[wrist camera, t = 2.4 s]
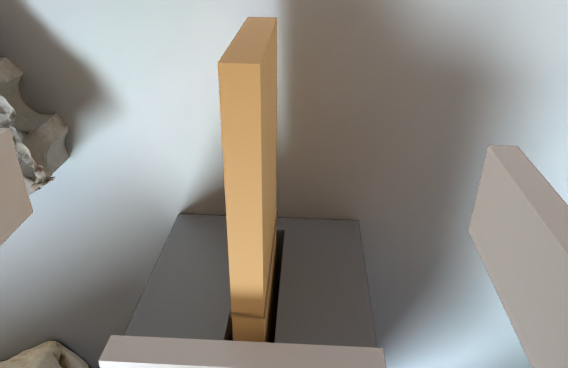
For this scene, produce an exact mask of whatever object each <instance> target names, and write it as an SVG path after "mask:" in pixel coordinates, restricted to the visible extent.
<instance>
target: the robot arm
mask: <svg viewBox="0 0 568 368" xmlns="http://www.w3.org/2000/svg"><path fill="white" fill-rule="evenodd" d="M32 213H33V210H32V206H31V203H30V199H29V195H28V192H27V188H26V185H25V181H24V178H23V174H22V171H21V167H20V164H19V160H18V157H17V153H16V150H15V146H14V142H13V139H12V135H11V132H10V128H0V246H1V245H2V244H3V243H4V242H5V241H6V240H7V239H8V238H9V236H10V235H11V234H12V233H13V232H14V231H15V230H16V229H17V228H18V227H19V226H20V225H21V224H22V223H23V222H24V221H25V220H26V219H27V218H28V217H29V216H30V215H31V214H32ZM468 231H469V234H470V236H471V238H472V240H473V242H474V244H475V246H476V249H477V251H478V253H479V255H480V257H481V259H482V261H483V264H484V266H485V268H486V270H487V272H488V274H489V277H490V279H491V281H492V283H493V285H494V287H495V289H496V292H497V294H498V296H499V298H500V300H501V302H502V304H503V307H504V309H505V311H506V313H507V315H508V317H509V319H510V322H511V324H512V326H513V328H514V330H515V332H516V334H517V337H518V339H519V341H520V343H521V345H522V347H523V349H524V352H525V354H526V356H527V358H528V360H529V362H530V364H531V367H532V368H568V205H567V204H566V202H565V201H564V200H563V199H562V198H561V196H560V195H559V194H558V193H557V192H556V191H555V189H554V188H553V187H552V186H551V185H550V183H549V182H548V181H547V180H546V179H545V178H544V176H543V175H542V174H541V173H540V172H539V171H538V169H537V168H536V167H535V166H534V165H533V163H532V162H531V161H530V160H529V159H528V158H527V156H526V155H525V154H524V153H523V152H522V151H521V149H520V148H519V147H518V146H499V145H488V149H487V153H486V157H485V162H484V166H483V170H482V174H481V179H480V183H479V187H478V192H477V196H476V200H475V204H474V209H473V213H472V217H471V222H470V226H469V230H468Z"/></svg>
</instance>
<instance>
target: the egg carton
mask: <svg viewBox="0 0 568 368" xmlns="http://www.w3.org/2000/svg"><path fill="white" fill-rule="evenodd" d="M23 75H24V73H23V72H22V71H21V70H20V69H19V68H18V67H17V66H16V65H14V64H13V63H12V62H11V61H10V60H9V59H8V58H7V57H0V128H10V132H11V135H12V139H13V142H14V145H15V149H16V151H17V153H18V154H19V156H20V158H21V160H22V162H21V163H20V167H21V171H22V174H23V178H24V181H25V185H26V188H27V192H28V195H29V194H31V193H33V192H35V191H37V190H39V189H41V188H40V187H42V186H43V185H45V184H47V183H49V182H51V181H52V180H54V179H55V177H50V176H51V175H52V174H53V172H55V171H56V170H57V169H58V168H59V167H60V166H61V165H62V164H63V163H64V162H65V161H66V160H67V159H68V158H69V155H68V152H67V150H66V147H65V137H66V135H67V133H68V132H69V130H68V127H67V125H66V124H65V122H64V121H63V120H62V119H61V118H60V117H59V116H58V115H57V114H52V115H46V114H40V113H37V112H35V111H34V110H32V109H31V108H29V107H28V106H27V105H26V104H25V103H24V101H23V100H22V98H21V95H20V91H19V81H20V79H21V77H22V76H23Z"/></svg>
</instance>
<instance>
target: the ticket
mask: <svg viewBox="0 0 568 368" xmlns="http://www.w3.org/2000/svg"><path fill="white" fill-rule="evenodd" d="M218 76H219V94H220V112H221V130H222V148H223V166H224V184H225V203H226V221H227V239H228V257H229V275H230V293H231V310H230V317H231V318H232V329H233V341H247V342H268V343H274V342H275V331H276V223H277V211H276V151H277V18H272V17H247V19H246V21H245V22H244V24H243V25H242V27H241V28H240V30H239V31H238V33H237V34H236V36H235V37H234V39H233V40H232V42H231V43H230V45H229V47H228V48H227V50H226V51H225V53H224V54H223V56H222V57H221V59H220V60H219V62H218Z"/></svg>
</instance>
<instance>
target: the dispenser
mask: <svg viewBox="0 0 568 368" xmlns="http://www.w3.org/2000/svg"><path fill="white" fill-rule="evenodd" d="M230 310H231V293H230V275H229V257H228V239H227V221H226V216H223V215H196V214H178V216H177V219H176V221H175V223H174V225H173V227H172V230H171V232H170V234H169V236H168V239H167V241H166V243H165V245H164V247H163V250H162V252H161V254H160V256H159V258H158V261H157V263H156V265H155V267H154V269H153V272H152V274H151V276H150V278H149V280H148V283H147V285H146V287H145V289H144V291H143V294H142V296H141V298H140V300H139V302H138V305H137V307H136V309H135V311H134V314H133V316H132V318H131V320H130V322H129V325H128V327H127V329H126V331H125V333H124V336H121V335H111V336H110V338H109V340H108V342H107V344H106V346H105V348H104V350H103V352H102V354H101V356H100V358H99V361H98V362H99V366H100V368H386V363H385V357H384V351H383V348H377V343H376V336H375V329H374V322H373V316H372V309H371V302H370V295H369V289H368V282H367V275H366V268H365V262H364V255H363V248H362V241H361V235H360V228H359V221H358V220H331V219H304V218H277V223H276V331H275V342H274V343H268V342H247V341H233V329H232V318H231V317H230Z"/></svg>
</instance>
